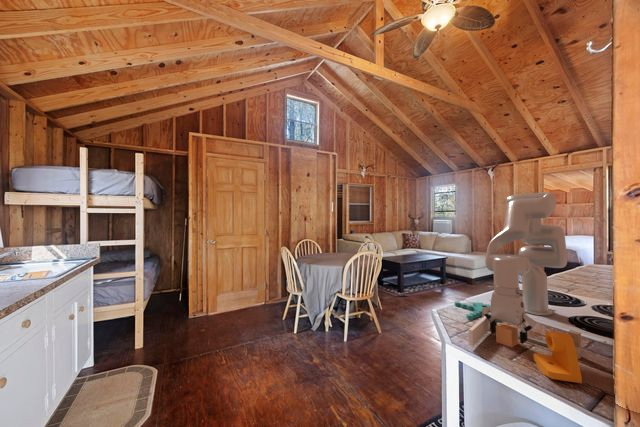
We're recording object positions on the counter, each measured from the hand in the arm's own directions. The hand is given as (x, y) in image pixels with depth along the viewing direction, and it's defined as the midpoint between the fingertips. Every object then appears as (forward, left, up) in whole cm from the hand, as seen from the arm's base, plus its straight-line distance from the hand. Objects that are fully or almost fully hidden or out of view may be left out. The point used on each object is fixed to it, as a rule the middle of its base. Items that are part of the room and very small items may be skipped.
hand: (508, 337), depth 95 cm
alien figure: (-24, -20, -3) cm, 31 cm away
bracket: (+9, +16, -3) cm, 18 cm away
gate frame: (-8, +3, -2) cm, 9 cm away
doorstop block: (0, 0, -2) cm, 2 cm away
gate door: (+4, -8, -1) cm, 9 cm away
